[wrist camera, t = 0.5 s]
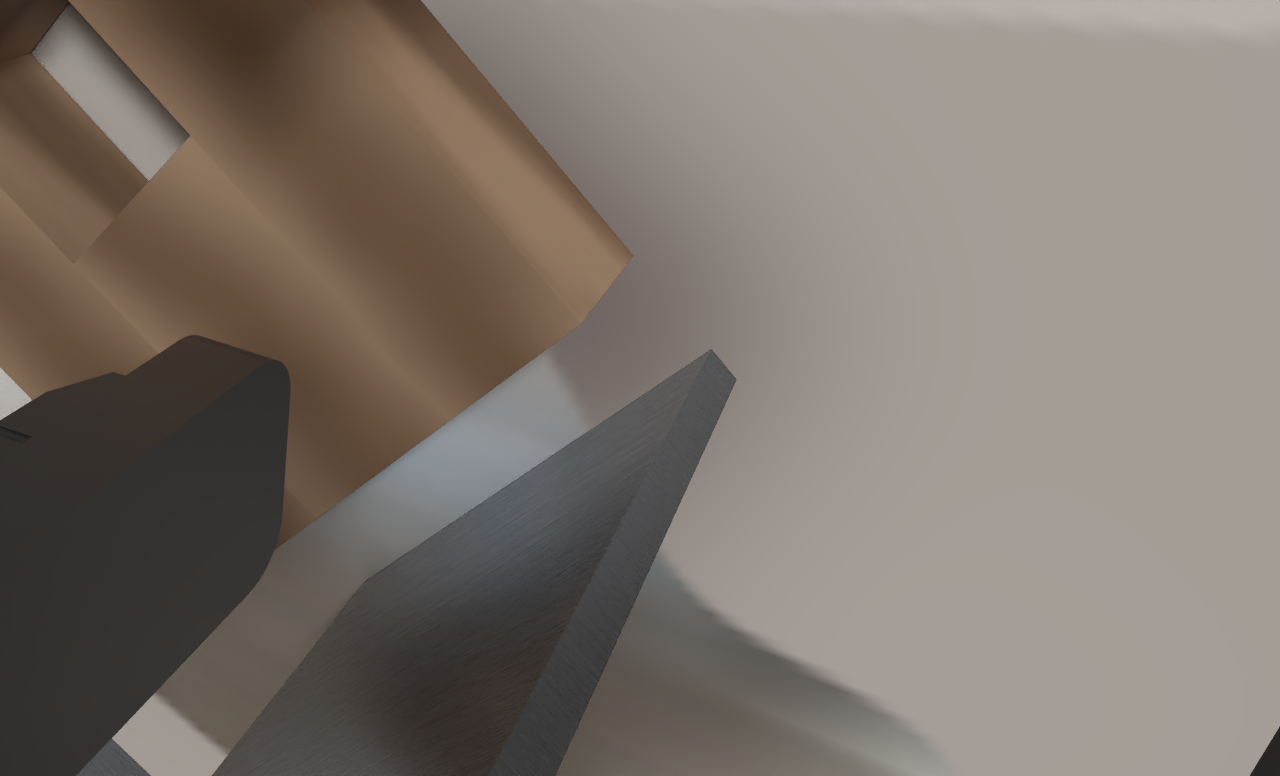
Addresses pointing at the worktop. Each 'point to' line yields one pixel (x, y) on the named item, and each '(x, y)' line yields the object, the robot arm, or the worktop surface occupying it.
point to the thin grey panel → (490, 614)
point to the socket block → (292, 221)
